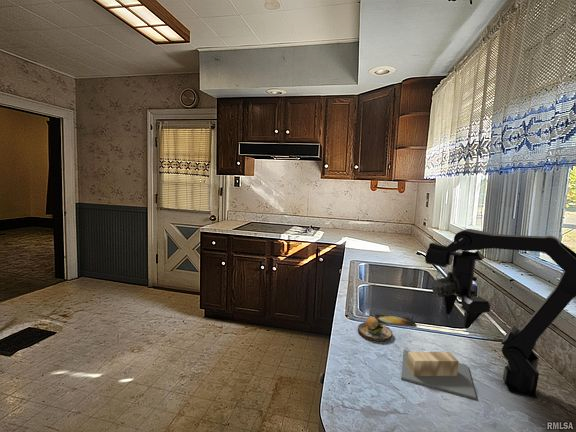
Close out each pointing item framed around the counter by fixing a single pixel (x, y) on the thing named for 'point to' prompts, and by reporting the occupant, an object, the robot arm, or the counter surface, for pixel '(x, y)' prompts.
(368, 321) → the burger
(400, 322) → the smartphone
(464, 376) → the mat
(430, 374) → the block
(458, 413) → the counter surface
